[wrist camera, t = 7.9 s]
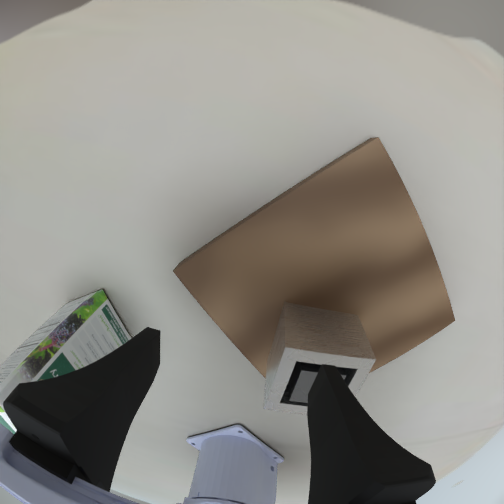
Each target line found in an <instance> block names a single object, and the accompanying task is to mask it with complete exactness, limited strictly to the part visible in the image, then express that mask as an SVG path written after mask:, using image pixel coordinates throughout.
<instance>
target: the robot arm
mask: <svg viewBox="0 0 504 504" xmlns="http://www.w3.org/2000/svg"><path fill="white" fill-rule="evenodd" d="M159 365H160V331H159V330H156V329H152V328H149V327H147V328H145V329H144V330H143V331H141V332H140V333H138V334H137V335H136V336H134V337H133V338H132V339H130V340H129V341H127V342H126V343H124V344H123V345H121V346H120V347H118V348H117V349H115V350H114V351H112V352H111V353H109V354H107V355H106V356H104V357H102V358H101V359H99V360H97V361H95V362H93V363H91V364H89V365H87V366H85V367H83V368H80V369H78V370H75V371H72V372H70V373H67V374H64V375H61V376H57V377H54V378H50V379H45V380H40V381H34V382H27V383H19V384H18V385H17V386H16V387H15V389H14V390H13V391H12V392H11V393H10V395H9V396H8V397H7V398H6V399H5V401H4V402H3V407H4V410H5V412H6V414H7V416H8V417H9V419H10V420H11V422H12V423H13V425H14V427H15V428H16V430H17V431H16V432H15V434H13V433H12V432H11V431H10V430H8V429H7V428H6V427H5V426H3V425H2V424H1V423H0V486H1V487H2V488H4V489H5V490H6V491H7V492H9V493H10V494H11V495H13V496H14V497H15V498H17V499H18V500H19V501H21V502H22V503H24V504H139V503H136V502H133V501H131V500H128V499H125V498H123V497H120V496H117V495H115V494H112V493H110V487H111V483H112V479H113V476H114V472H115V469H116V465H117V462H118V459H119V455H120V452H121V450H122V447H123V444H124V441H125V438H126V435H127V433H128V430H129V427H130V425H131V423H132V421H133V418H134V416H135V415H136V413H137V411H138V409H139V407H140V405H141V403H142V402H143V400H144V398H145V396H146V394H147V392H148V390H149V389H150V387H151V385H152V383H153V381H154V378H155V376H156V373H157V370H158V368H159ZM307 416H308V427H309V437H310V447H311V478H310V491H309V500H308V504H416V500H417V499H418V498H419V497H421V496H422V495H424V494H425V493H426V492H428V491H429V490H430V489H431V488H432V487H433V486H434V484H435V482H436V480H435V477H434V473H433V470H432V467H431V465H430V464H428V463H426V462H425V461H423V460H421V459H419V458H418V457H416V456H414V455H413V454H411V453H410V452H408V451H407V450H406V449H404V448H403V447H401V446H400V445H399V444H398V443H396V442H395V441H394V440H393V439H392V438H391V437H389V436H388V435H387V434H386V433H385V432H384V431H383V430H382V429H381V428H380V427H379V426H378V425H377V424H376V423H375V422H374V421H373V419H372V418H371V417H370V416H369V415H368V413H367V412H366V411H365V410H364V408H363V407H362V406H361V405H360V403H359V402H358V400H357V399H356V398H355V396H354V395H353V393H352V392H351V390H350V389H349V387H348V386H347V384H346V383H345V381H344V379H343V378H342V376H341V375H340V373H339V371H338V370H337V368H336V367H335V365H327V364H322V365H321V367H320V369H319V371H318V374H317V376H316V378H315V380H314V382H313V384H312V386H311V389H310V391H309V393H308V404H307ZM186 441H187V442H188V443H189V444H191V445H192V446H193V447H195V448H196V449H198V450H199V451H200V453H199V457H198V461H197V465H196V469H195V473H194V476H193V480H192V484H191V488H190V492H189V496H188V498H187V497H185V499H184V503H183V504H275V501H276V487H277V465H278V463H281V462H283V461H284V458H283V457H281V456H280V455H279V454H277V453H276V452H275V451H273V450H272V449H270V448H269V447H268V446H266V445H265V444H264V443H263V442H261V441H260V440H259V439H257V438H256V437H255V436H254V435H252V434H251V433H250V432H249V431H247V430H246V429H245V428H244V427H242V426H241V425H234V426H230V427H227V428H223V429H220V430H216V431H212V432H209V433H205V434H201V435H197V436H193V437H189V438H187V440H186ZM177 504H181V503H177Z"/></svg>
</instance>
